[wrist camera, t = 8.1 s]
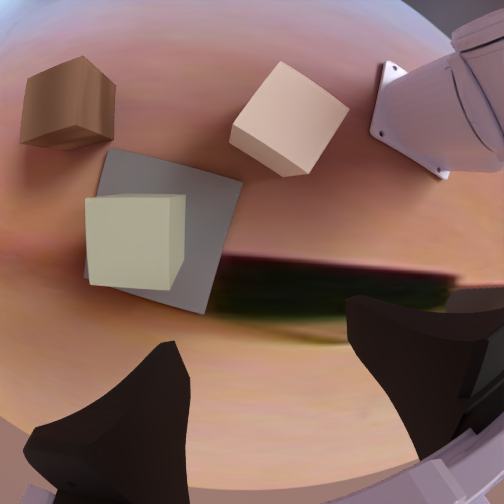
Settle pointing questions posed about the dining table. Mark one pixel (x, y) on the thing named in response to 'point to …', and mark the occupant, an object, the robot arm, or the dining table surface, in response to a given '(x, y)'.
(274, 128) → the cream block
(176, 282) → the coaster
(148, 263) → the green block
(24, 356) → the dining table surface
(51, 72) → the walnut block
